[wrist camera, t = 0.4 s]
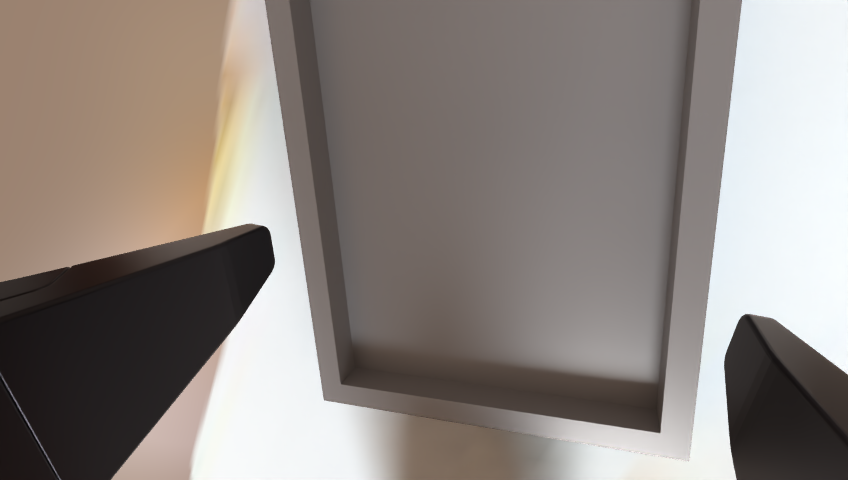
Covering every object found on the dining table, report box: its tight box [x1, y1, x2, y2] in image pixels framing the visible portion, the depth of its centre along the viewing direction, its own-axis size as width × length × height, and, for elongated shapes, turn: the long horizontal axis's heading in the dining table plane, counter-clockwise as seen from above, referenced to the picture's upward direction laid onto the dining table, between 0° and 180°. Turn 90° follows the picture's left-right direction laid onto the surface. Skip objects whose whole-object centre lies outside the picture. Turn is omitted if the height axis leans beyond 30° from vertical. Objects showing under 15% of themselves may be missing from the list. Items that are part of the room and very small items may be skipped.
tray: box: [265, 0, 742, 461], centre depth 22 cm, size 24×18×2 cm
